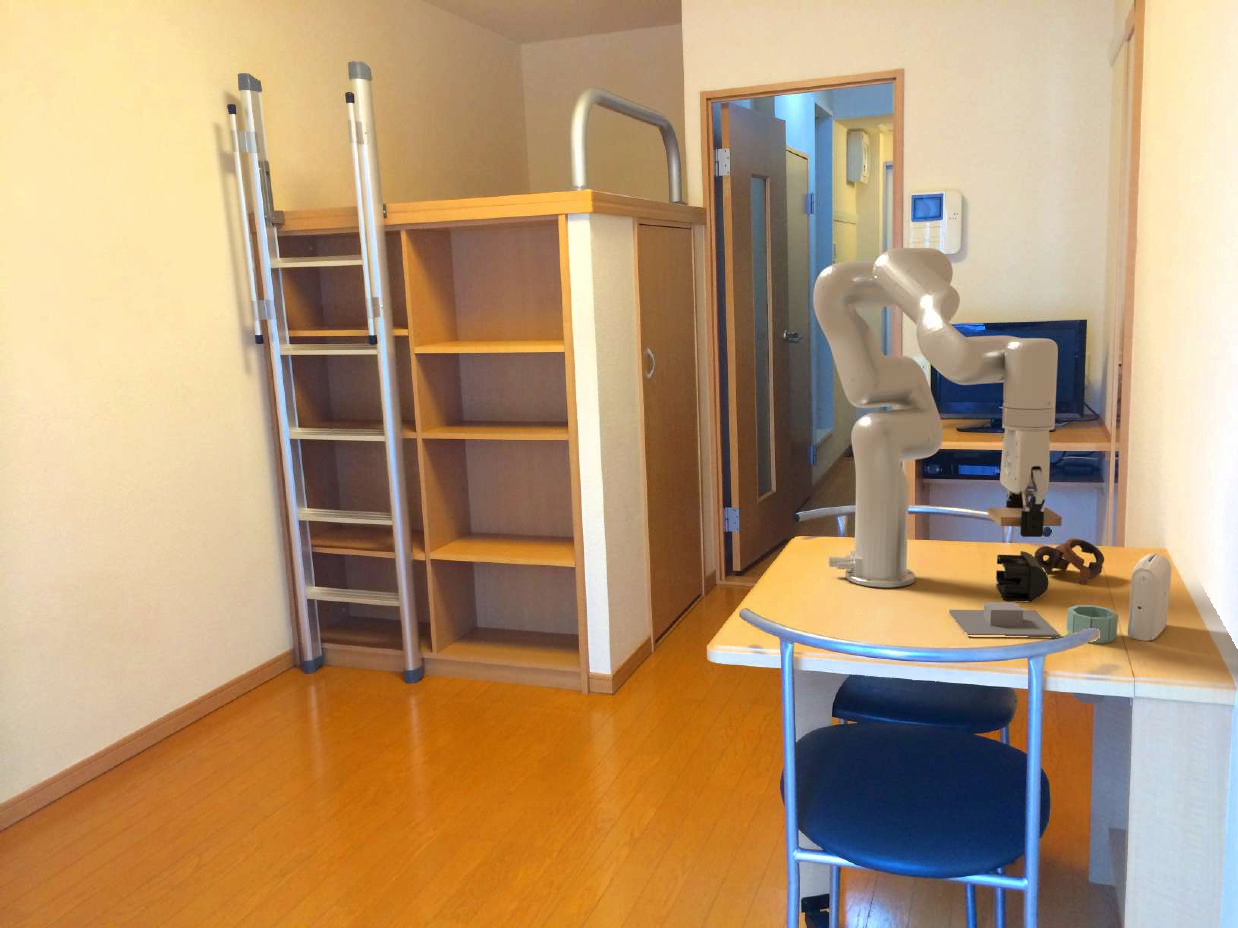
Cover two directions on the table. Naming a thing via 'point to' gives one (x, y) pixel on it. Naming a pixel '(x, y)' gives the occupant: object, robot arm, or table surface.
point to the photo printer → (1149, 597)
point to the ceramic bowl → (1093, 621)
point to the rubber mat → (984, 629)
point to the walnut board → (1014, 516)
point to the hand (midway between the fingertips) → (1023, 529)
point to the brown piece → (1071, 559)
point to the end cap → (1020, 578)
